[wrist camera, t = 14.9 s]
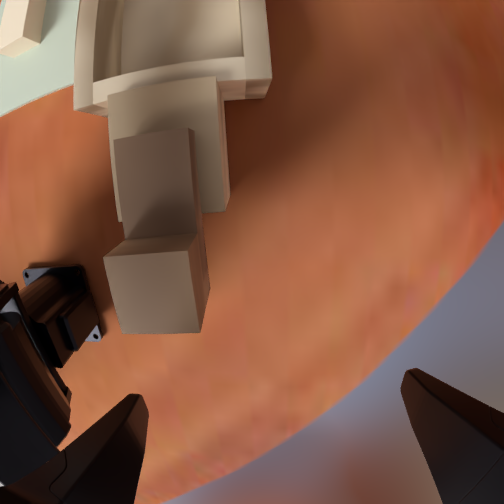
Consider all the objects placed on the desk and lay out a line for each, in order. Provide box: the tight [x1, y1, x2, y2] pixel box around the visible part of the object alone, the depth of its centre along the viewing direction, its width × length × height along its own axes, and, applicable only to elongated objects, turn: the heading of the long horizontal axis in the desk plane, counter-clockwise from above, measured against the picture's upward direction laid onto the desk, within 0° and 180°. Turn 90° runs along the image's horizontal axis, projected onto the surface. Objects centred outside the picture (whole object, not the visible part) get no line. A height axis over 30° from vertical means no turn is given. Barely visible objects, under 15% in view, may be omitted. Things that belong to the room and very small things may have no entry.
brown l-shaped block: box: [103, 127, 210, 334], centre depth 11 cm, size 3×7×4 cm, turn 4°
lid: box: [0, 0, 81, 117], centre depth 13 cm, size 10×14×4 cm
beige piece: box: [74, 0, 272, 222], centre depth 13 cm, size 10×20×6 cm, turn 4°
